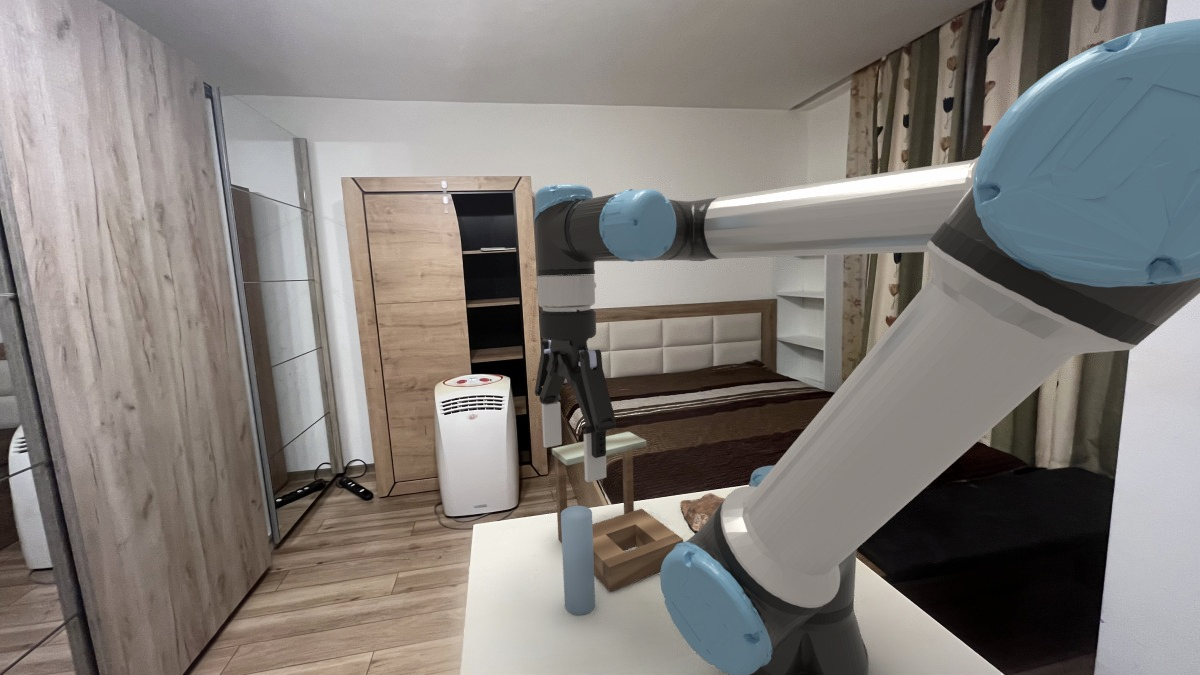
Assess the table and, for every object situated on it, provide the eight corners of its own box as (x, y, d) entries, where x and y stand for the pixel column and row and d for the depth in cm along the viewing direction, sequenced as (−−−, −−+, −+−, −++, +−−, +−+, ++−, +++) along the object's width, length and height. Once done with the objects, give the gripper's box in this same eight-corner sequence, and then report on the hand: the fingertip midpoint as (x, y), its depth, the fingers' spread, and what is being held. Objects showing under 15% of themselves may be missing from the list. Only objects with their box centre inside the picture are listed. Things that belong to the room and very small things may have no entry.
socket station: (688, 560, 78) (687, 461, 76) (604, 594, 70) (600, 486, 68) (630, 514, 93) (628, 431, 91) (556, 538, 85) (551, 448, 83)
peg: (600, 607, 67) (597, 515, 66) (572, 619, 65) (569, 524, 63) (586, 590, 71) (583, 502, 69) (559, 600, 69) (555, 511, 67)
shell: (733, 502, 98) (734, 485, 97) (754, 536, 85) (754, 517, 85) (678, 504, 98) (678, 487, 97) (690, 538, 85) (690, 519, 85)
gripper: (644, 313, 54) (645, 489, 57) (555, 302, 75) (559, 430, 78) (585, 317, 50) (590, 505, 53) (509, 304, 72) (516, 438, 75)
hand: (572, 460), depth 66 cm, fingers open, 13 cm apart
